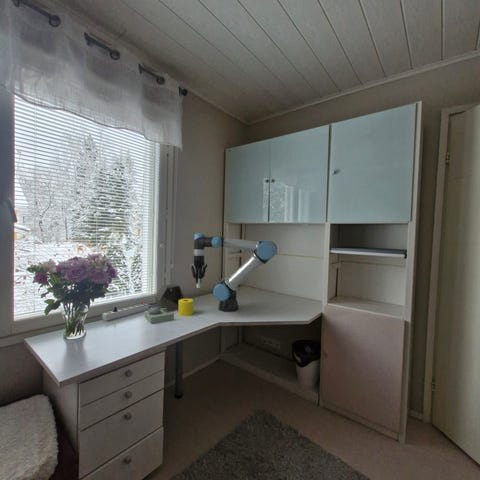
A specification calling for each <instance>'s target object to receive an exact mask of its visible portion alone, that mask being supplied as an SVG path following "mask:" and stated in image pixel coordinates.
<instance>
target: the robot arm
mask: <svg viewBox="0 0 480 480" xmlns="http://www.w3.org/2000/svg"><path fill="white" fill-rule="evenodd" d="M205 248H215V249H216V248H226V249H227V248H228V249H233V250H240V251H244V252H245V251H247V252H252V255H251V256H250V257H249V258H248V259H246V261H245V262H243V264H241V265H240V266H239V268H237V269H236V270H235V271H234V272H233V273H232V274H231V275H230V276H229V277H223V278H221V281H220V283H218V284H216V285H215V287H214V288H213V297H214V298H215V299H216V300H218V301H219V303H218V310H219V311H222V312H236V311H238V310H239V308H240V307H239V303H238V300H237V293H238V292H237V290H238V287H239V286H240V285H241V284H242V283H243V282H244V281H245V280H246V279H247V278H249V276H250V275H251V274H253V273H254V272H255V271H256V270H257V269H258V268H259V267H260V266H261V265H266V264H267V263H268V262H269V261H270V260H271V259H273V258H274V257H275V256H276V254H277V252H278V246H277V244H276V243H275V242H274V241H271V240H270V241H269V240H268V241H267V240H266V241H265V240H264V241H262V240H259V241H252V240H247V239H238V238H230V237H224V236H206V234H205V233H195V234H194V236H193V262H192V264H190V265H189V267H190V268H191V273H192V277H193V278H194V279H195V284H196V288H198V289H201V283H202V280H203V278H204V277H205V274H206V270H207V267H208V264H207V263H205Z"/></svg>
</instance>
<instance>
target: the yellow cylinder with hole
mask: <svg viewBox="0 0 480 480" xmlns="http://www.w3.org/2000/svg"><path fill="white" fill-rule="evenodd" d="M177 310H178V313H177V314H178V316H181V317H189V316H192V315H194V300H193V299H192V298H183V299H180V300H179V307H178V309H177Z"/></svg>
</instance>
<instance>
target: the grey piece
mask: <svg viewBox="0 0 480 480" xmlns="http://www.w3.org/2000/svg"><path fill="white" fill-rule="evenodd" d="M144 318H145V319H146V320H147V321H148V322H149V324H150V325H153V324H159V323H165V322H171V321H174V320H175V313H168V312H167V308H162V309H161V308H160V307H158V306H152V307H149V309H148V310H145V311H144Z"/></svg>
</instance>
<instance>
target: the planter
mask: <svg viewBox="0 0 480 480" xmlns="http://www.w3.org/2000/svg"><path fill="white" fill-rule="evenodd" d="M154 299H155V301H156V303H157V307H160V308H161V309H162V308H167V313H168V312H172V311H177V310H178V309H179V300H180V299H185V297H184V293H183V291H182V289H181V286H180V285H177V284H175V283H172V284H165V285H161V286H160V288H159V290H158V291H157V293H156V295H155V296H154Z"/></svg>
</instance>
